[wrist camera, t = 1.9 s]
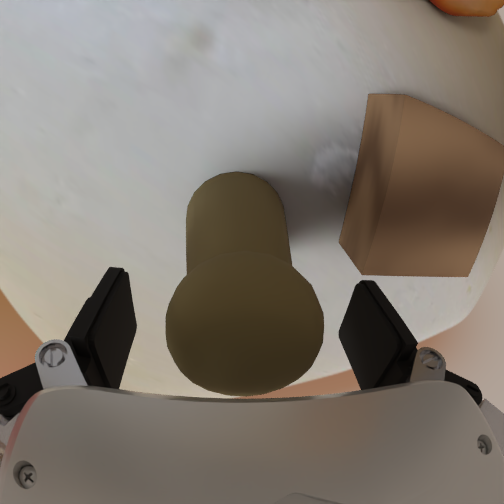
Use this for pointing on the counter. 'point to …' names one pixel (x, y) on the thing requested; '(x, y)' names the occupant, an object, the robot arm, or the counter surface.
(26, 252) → the counter surface
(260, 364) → the cork
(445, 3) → the fruit
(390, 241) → the base block
